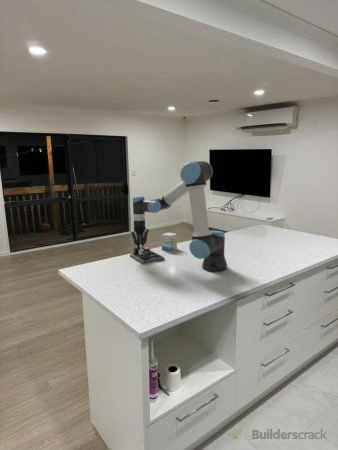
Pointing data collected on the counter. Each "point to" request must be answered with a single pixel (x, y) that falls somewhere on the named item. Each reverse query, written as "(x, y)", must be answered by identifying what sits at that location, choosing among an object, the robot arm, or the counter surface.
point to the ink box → (169, 241)
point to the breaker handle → (147, 250)
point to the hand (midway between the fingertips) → (140, 254)
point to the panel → (151, 257)
